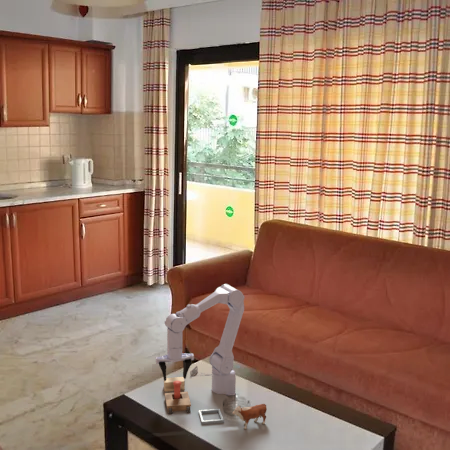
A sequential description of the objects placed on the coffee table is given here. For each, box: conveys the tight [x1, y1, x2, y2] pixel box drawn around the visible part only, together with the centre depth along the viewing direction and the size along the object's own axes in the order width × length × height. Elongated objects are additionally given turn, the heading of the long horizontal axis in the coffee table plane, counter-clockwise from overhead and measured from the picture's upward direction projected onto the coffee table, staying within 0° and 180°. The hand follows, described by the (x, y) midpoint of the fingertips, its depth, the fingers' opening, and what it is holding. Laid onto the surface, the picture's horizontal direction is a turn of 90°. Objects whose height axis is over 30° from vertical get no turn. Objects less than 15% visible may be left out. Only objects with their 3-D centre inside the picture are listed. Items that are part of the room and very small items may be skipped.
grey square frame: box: [198, 408, 225, 425], centre depth 204 cm, size 8×8×2 cm
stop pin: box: [173, 381, 181, 399], centre depth 214 cm, size 3×3×8 cm
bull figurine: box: [232, 403, 267, 431], centre depth 201 cm, size 4×13×8 cm, turn 113°
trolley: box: [164, 391, 192, 415], centre depth 213 cm, size 9×14×3 cm, turn 11°
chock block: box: [163, 376, 186, 393], centre depth 225 cm, size 8×4×5 cm, turn 101°
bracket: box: [189, 365, 212, 378], centre depth 237 cm, size 7×10×4 cm, turn 67°
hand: (174, 378), depth 214 cm, fingers open, 7 cm apart
